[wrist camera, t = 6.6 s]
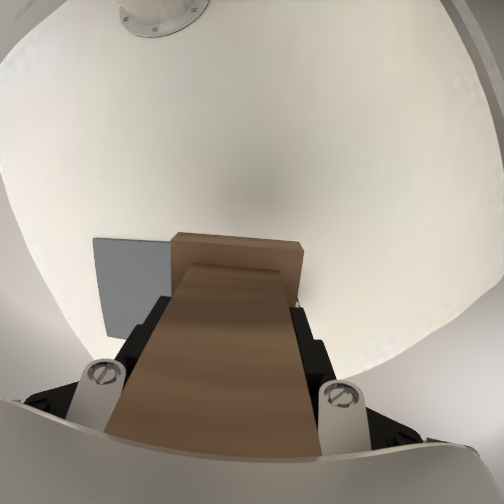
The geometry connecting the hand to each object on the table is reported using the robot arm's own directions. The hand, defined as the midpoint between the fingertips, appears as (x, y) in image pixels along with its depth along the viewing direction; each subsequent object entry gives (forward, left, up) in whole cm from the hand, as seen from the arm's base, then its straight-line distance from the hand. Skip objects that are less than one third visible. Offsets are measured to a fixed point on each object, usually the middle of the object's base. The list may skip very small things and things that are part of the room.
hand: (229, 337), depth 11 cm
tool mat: (+12, -15, -25) cm, 32 cm away
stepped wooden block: (0, 0, -4) cm, 4 cm away
